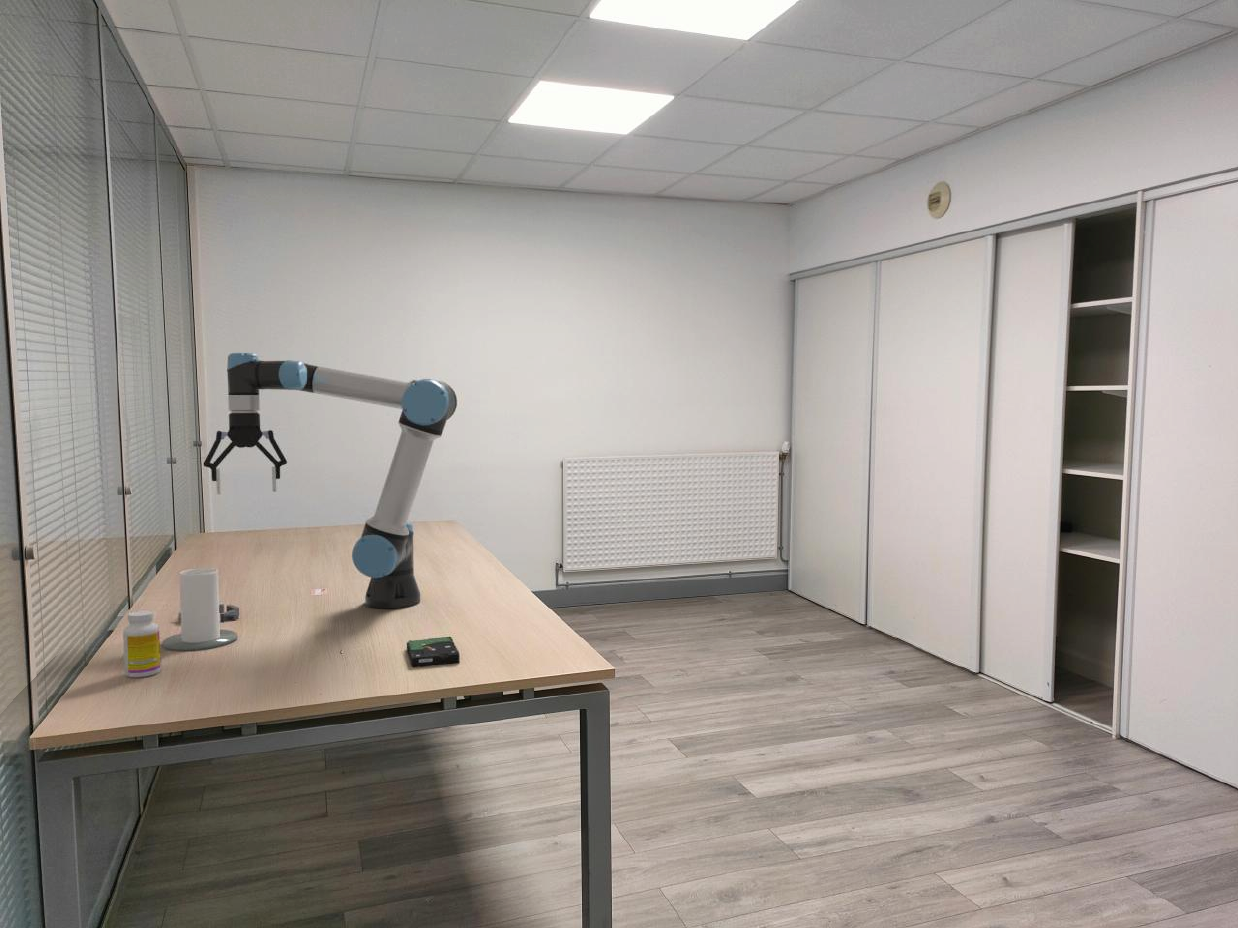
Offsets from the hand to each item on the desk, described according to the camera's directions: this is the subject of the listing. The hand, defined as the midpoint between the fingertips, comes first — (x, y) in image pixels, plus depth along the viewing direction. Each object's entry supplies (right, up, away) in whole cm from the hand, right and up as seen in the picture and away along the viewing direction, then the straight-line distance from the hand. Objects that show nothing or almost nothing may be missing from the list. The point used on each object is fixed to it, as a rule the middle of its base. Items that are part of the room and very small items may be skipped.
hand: (246, 492), depth 233 cm
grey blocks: (-9, -33, -2) cm, 34 cm away
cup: (-1, -34, -24) cm, 42 cm away
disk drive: (+57, -36, -36) cm, 76 cm away
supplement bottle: (-1, -36, -49) cm, 61 cm away
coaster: (-1, -35, -24) cm, 42 cm away
